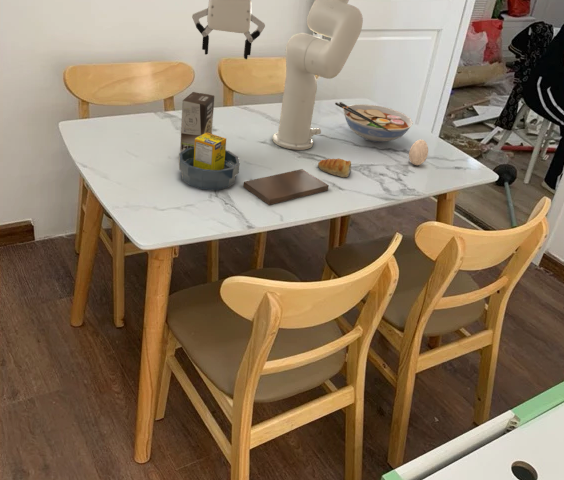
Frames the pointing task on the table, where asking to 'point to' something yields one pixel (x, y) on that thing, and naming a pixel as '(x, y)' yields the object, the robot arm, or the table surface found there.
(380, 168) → the table surface
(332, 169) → the pastry
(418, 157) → the egg
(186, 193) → the table surface
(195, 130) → the coffee box
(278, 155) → the table surface
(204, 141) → the supplement box
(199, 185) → the bowl
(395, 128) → the ramen bowl
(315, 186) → the walnut board
